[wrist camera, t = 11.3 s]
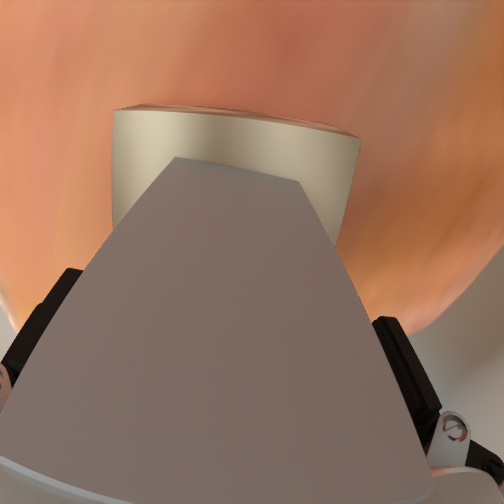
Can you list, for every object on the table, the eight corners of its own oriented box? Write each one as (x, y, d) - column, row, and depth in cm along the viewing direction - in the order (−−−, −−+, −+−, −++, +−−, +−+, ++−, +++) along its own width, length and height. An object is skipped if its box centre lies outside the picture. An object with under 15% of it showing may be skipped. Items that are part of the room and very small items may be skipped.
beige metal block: (328, 124, 20) (361, 139, 14) (295, 278, 25) (310, 329, 20) (145, 103, 18) (113, 110, 13) (141, 264, 24) (120, 313, 19)
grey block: (298, 181, 15) (436, 491, 3) (264, 297, 19) (287, 558, 6) (174, 156, 14) (-15, 447, 2) (160, 279, 18) (89, 536, 5)
